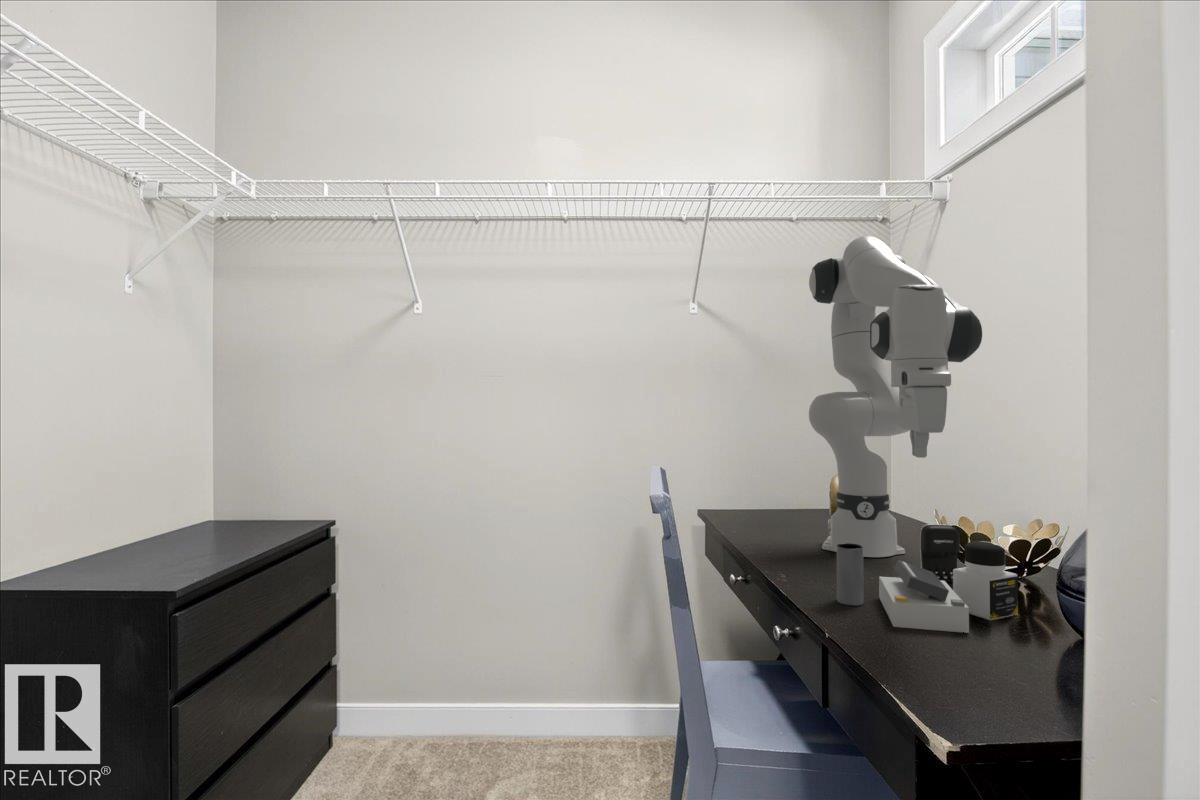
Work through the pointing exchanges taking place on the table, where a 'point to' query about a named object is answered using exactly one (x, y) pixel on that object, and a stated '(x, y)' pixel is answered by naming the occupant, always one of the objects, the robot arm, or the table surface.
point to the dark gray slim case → (921, 580)
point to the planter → (850, 574)
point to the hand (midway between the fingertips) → (919, 456)
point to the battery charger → (939, 550)
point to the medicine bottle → (986, 582)
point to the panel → (922, 607)
